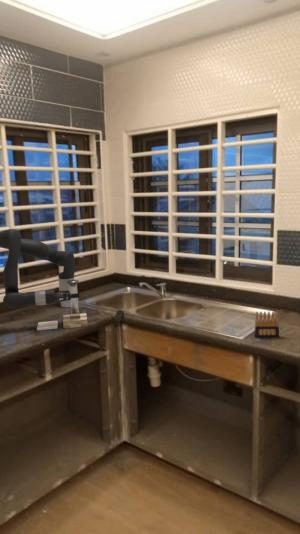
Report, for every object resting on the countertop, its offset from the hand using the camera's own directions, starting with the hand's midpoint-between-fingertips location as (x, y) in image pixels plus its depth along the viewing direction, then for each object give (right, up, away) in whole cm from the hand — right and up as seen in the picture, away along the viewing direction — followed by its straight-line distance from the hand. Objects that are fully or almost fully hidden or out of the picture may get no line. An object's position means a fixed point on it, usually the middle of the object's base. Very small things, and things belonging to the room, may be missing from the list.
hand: (79, 294), depth 212 cm
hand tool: (+20, -15, +2) cm, 26 cm away
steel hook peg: (-2, -10, +1) cm, 10 cm away
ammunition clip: (+89, -18, -27) cm, 95 cm away
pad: (-16, -17, 0) cm, 23 cm away
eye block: (-2, -16, +2) cm, 16 cm away
